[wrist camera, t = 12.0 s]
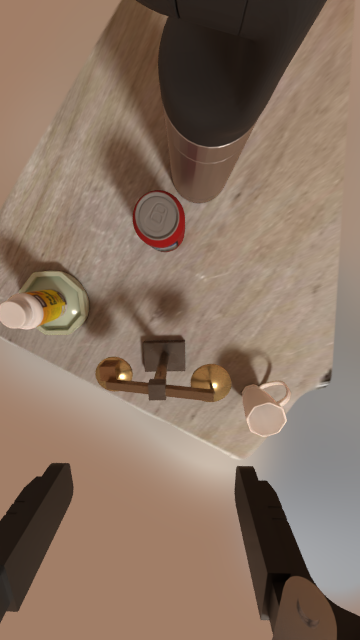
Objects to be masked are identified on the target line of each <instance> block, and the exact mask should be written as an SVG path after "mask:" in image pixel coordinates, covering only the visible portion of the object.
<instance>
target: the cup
mask: <svg viewBox="0 0 360 640" xmlns="http://www.w3.org/2000/svg"><path fill="white" fill-rule="evenodd" d="M272 385H284V386H285V387H286V390H287V391H286V396H285V397H284V398H283V399H281V400H280V401H277V402H276V401H275V400H274V399H273V398H272V397H271V396H270V395H269V394H268V393H266V392H265V391H264V390H262V389H263V388H265V387H268V386H272ZM290 395H291V393H290V390H289V388H288V386H287V385H286V384H285V383H284V382H282V381H272V382H267V383H264V384H262V385H260V386H257V385H255V384H252V385H249V386H245V388H244V390H243V391H242V396H243V406H244V411H245V416H246V420H247V423H248V426H249V429H250V431H251V432H253V433H255V434H258V435H260V436H263V437H266V436H269V435H272V434H276V433H279V432H280V430H281V429H282V427H283V426H284V424H285V423H286V421H287V420H286V416H285V413H284V409H283V408H282V407H281V406H283V405H285V404H286V403H287V402H288V401H289V399H290Z"/></svg>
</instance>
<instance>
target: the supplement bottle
mask: <svg viewBox="0 0 360 640" xmlns="http://www.w3.org/2000/svg"><path fill="white" fill-rule="evenodd" d="M67 308H68V303H67V300H66V298H65V296H64V295H63V294H62V293H60V292H59V291H57V290H53V289H46V290H40V291H33V292H25V293H19V294H15V295H13V296H11V297H10V298H9V299H8V300H7V301H6V302H3V303H2V304H1V305H0V321H1V322H2V323H3V324H4V325H5V326H7V327H9V328H21V329H32V328H35V327H38V326H40V325H43V324H45V323H48V322H50V321H53V320H56V319H58V318H60V317H62V316H63V315H64V314H65V313H66V311H67Z"/></svg>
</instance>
